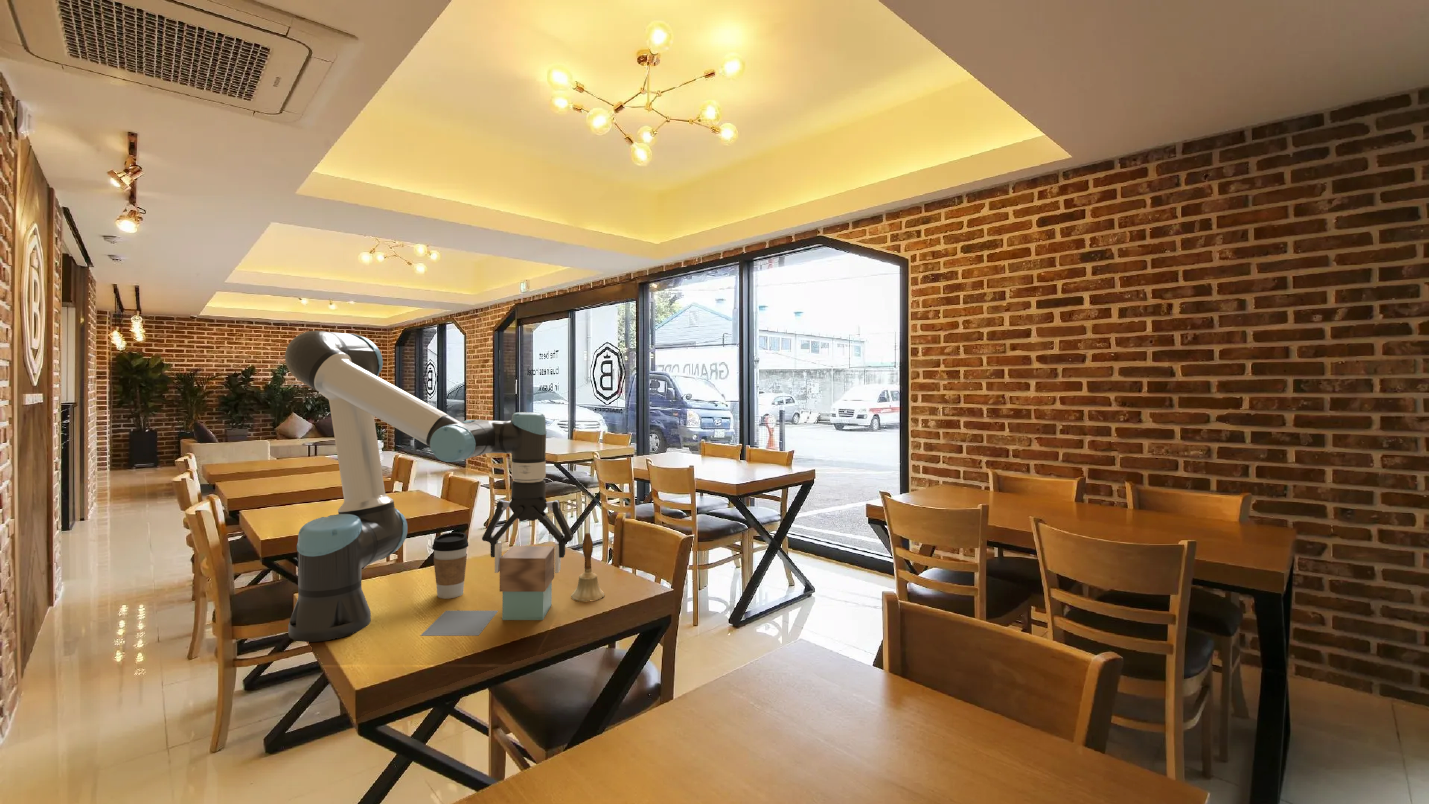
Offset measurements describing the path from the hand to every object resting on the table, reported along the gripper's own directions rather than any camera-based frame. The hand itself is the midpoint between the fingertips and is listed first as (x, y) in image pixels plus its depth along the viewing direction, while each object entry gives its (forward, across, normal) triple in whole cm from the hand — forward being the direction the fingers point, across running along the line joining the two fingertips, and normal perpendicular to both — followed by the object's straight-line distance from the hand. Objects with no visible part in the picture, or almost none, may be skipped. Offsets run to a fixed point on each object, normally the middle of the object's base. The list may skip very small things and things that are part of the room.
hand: (528, 571), depth 145 cm
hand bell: (+10, +12, +12) cm, 20 cm away
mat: (+10, -13, -6) cm, 17 cm away
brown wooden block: (+3, 0, 0) cm, 3 cm away
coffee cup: (+10, -22, +12) cm, 27 cm away
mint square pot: (+10, 0, 0) cm, 10 cm away
